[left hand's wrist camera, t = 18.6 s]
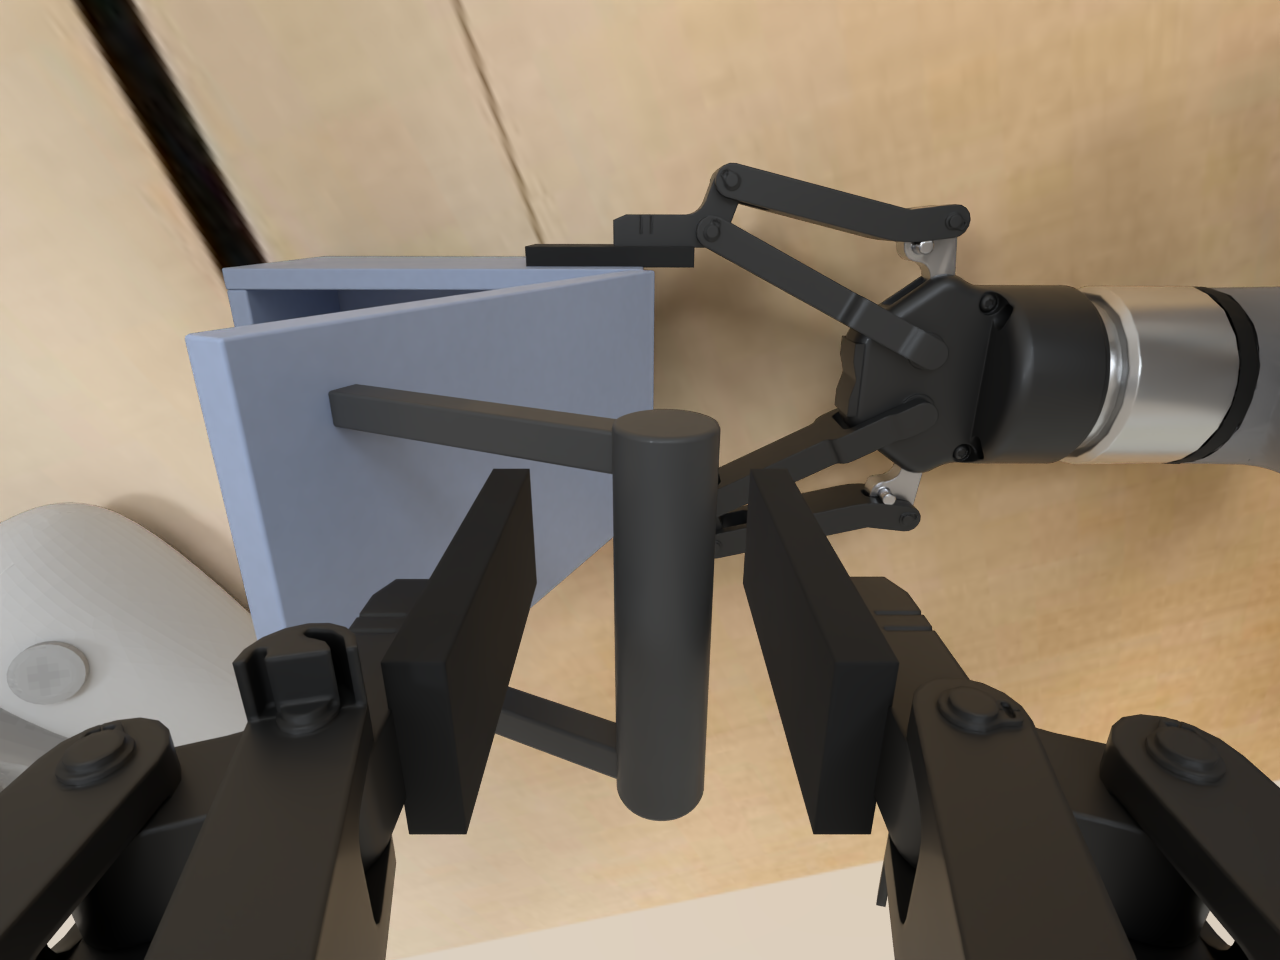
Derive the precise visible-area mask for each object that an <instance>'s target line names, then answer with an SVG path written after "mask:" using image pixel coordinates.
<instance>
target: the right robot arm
mask: <svg viewBox="0 0 1280 960" xmlns="http://www.w3.org/2000/svg"><path fill="white" fill-rule="evenodd" d="M738 204H741V205H745V206H749V207H752V208H756V209H760V210H764V211H768V212H771V213H775V214H779V215H783V216H787V217H790V218H794V219H798V220H802V221H806V222H810V223H813V224H817V225H821V226H825V227H829V228H832V229H836V230H840V231H844V232H848V233H851V234H855V235H859V236H863V237H867V238H872V239H877V240H886V241H896V249H897V253H898V255H899V256H900V257H901V258H902V259H904V260H909V261H914V262H915V263H917V264H918V265H919V266H920V268H921V272H922V276H921V277H919V278H917V279H916V280H914V281H913V282H911V283H910V284H909V285H907V286H906V287H904V288H903V289H901V290H900V291H898V292H897V293H895V294H894V295H892V296H891V297H889V298H888V299H886V300H885V301H883V302H882V303H880V304H879V305H877V304H875V303H873V302H872V301H870V300H868V299H866V298H864V297H862V296H860V295H858V294H856V293H854V292H852V291H851V290H849V289H847V288H845V287H844V286H842V285H840V284H838V283H836V282H835V281H833V280H831V279H829V278H828V277H826V276H824V275H822V274H820V273H819V272H817V271H815V270H813V269H812V268H810V267H808V266H806V265H805V264H803V263H801V262H799V261H797V260H796V259H794V258H792V257H790V256H789V255H787V254H785V253H783V252H781V251H780V250H778V249H776V248H774V247H773V246H771V245H769V244H767V243H766V242H764V241H762V240H760V239H758V238H757V237H755V236H753V235H751V234H750V233H748V232H746V231H744V230H742V229H741V228H739V227H737V226H735V225H734V224H732V223H731V221H732V218H733V216H734V213H735V211H736V208H737V205H738ZM969 224H970V213H969V211H968V210H967V208H966V207H964V206H962V205H956V204H953V205H932V206H922V207H914V208H902V207H898V206H894V205H891V204H887V203H883V202H879V201H876V200H872V199H868V198H865V197H861V196H857V195H853V194H850V193H846V192H842V191H838V190H835V189H831V188H827V187H823V186H820V185H816V184H812V183H808V182H805V181H801V180H797V179H794V178H790V177H786V176H782V175H779V174H775V173H771V172H767V171H764V170H760V169H756V168H752V167H749V166H745V165H741V164H737V163H728V164H726V165H724V166H722V167H721V168H719V169H718V170H716V171H715V172H714V173H713V175H712V177H711V179H710V184H709V187H708V189H707V192H706V195H705V197H704V200H703V202H702V204H701V206H700V207H699V208H698V210H696V211H695V212H693V213H691V214H687V215H624V216H622V217H619V218H617V219H615V220H613V233H614V244H534V245H530V246H525V253H526V266H564V267H694V248H707V249H709V250H711V251H713V252H715V253H716V254H718V255H720V256H722V257H724V258H725V259H727V260H729V261H731V262H733V263H734V264H736V265H738V266H740V267H742V268H743V269H745V270H747V271H749V272H751V273H752V274H754V275H756V276H758V277H760V278H762V279H763V280H765V281H767V282H769V283H771V284H772V285H774V286H776V287H778V288H780V289H781V290H783V291H785V292H787V293H789V294H790V295H792V296H794V297H796V298H798V299H799V300H801V301H803V302H805V303H807V304H809V305H810V306H812V307H814V308H816V309H818V310H819V311H821V312H823V313H825V314H826V315H828V316H830V317H832V318H834V319H835V320H837V321H839V322H841V323H843V324H845V325H846V326H848V327H850V329H849V331H848V333H847V335H846V336H842V342H841V351H840V355H841V361H842V367H843V372H842V375H841V378H840V380H839V383H838V386H837V388H836V397H835V406H836V407H837V408H836V409H834V410H832V411H830V412H828V413H826V414H824V415H822V416H820V417H818V418H817V419H816V420H815V421H814V423H813V424H811V425H809V426H807V427H805V428H803V429H801V430H798V431H796V432H794V433H792V434H790V435H788V436H786V437H784V438H781V439H779V440H777V441H775V442H773V443H771V444H769V445H766V446H764V447H762V448H760V449H758V450H756V451H754V452H752V453H749V454H747V455H745V456H743V457H741V458H739V459H737V460H734V461H732V462H730V463H728V464H726V465H724V466H722V467H720V468H719V469H718V490H717V512H716V534H715V555H714V558H721V557H726V556H731V555H735V554H740V553H745V544H746V528H747V512H748V505H746V504H748V497H749V481H750V469H787V470H788V472H789V474H790V475H791V477H792V479H793V480H794V482H796V481H798V480H800V479H803V478H805V477H807V476H809V475H811V474H814V473H816V472H818V471H820V470H822V469H825V468H827V467H829V466H831V465H834V464H837V463H842V464H844V463H849V462H852V461H854V460H856V459H858V458H861V457H863V456H865V455H867V454H869V453H872V452H874V451H876V450H878V451H879V452H881V453H882V454H883V455H884V456H886V457H887V458H888V459H890V460H891V461H892V462H894V464H893V467H892V468H891V469H890V470H889V471H888V472H886V473H884V474H878V475H872V476H869V477H868V478H867V481H866V484H846V485H840V486H835V487H830V488H825V489H821V490H816V491H811V492H806V493H802V496H803V498H804V499H805V501H806V503H807V504H808V506H809V508H810V510H811V511H812V513H813V515H814V516H815V518H816V520H817V522H818V523H819V525H820V527H821V528H822V530H823V532H824V534H825V535H826V536H827V535H832V534H837V533H842V532H846V531H851V530H856V529H861V528H866V527H870V528H879V529H888V530H898V531H910V530H912V529H914V528H915V527H916V526H917V525H918V524H919V522H920V513H919V511H918V510H917V509H916V508H915V507H914V506H913V504H914V500H915V497H916V493H917V490H918V486H919V483H920V479H921V476H922V473H923V472H927V471H930V470H932V469H934V468H936V467H938V466H940V465H943V464H947V463H952V462H961V463H1053V462H1056V461H1059V460H1060V461H1061V462H1065V463H1070V464H1122V463H1164V464H1180V463H1198V464H1244V465H1251V466H1258V467H1263V468H1267V469H1270V470H1273V471H1276V472H1278V473H1280V287H1241V288H1206V287H1191V286H1084V287H1081V288H1079V289H1075V288H1073V287H1070V286H1061V285H972V284H970V283H968V282H966V281H965V280H963V279H962V278H960V277H958V276H956V275H955V266H956V247H957V237H958V236H960V235H962V234H963V233H964V232H965V231H966V230H967V228H968V227H969ZM743 505H746V506H743Z"/></svg>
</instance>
